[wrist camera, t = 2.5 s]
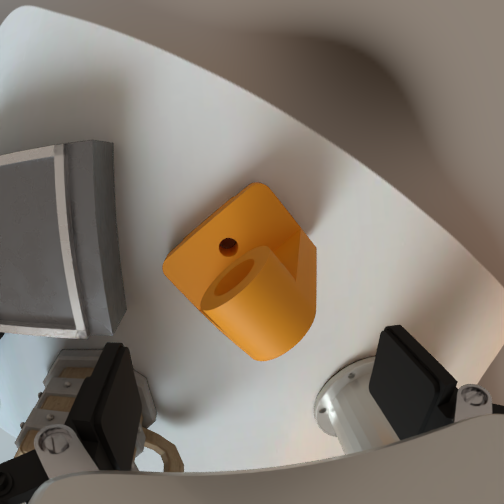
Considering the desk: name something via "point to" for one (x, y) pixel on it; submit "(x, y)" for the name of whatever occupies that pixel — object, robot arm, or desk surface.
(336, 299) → the desk surface
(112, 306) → the grey square tray
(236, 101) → the desk surface
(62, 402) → the tankard
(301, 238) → the bracket
